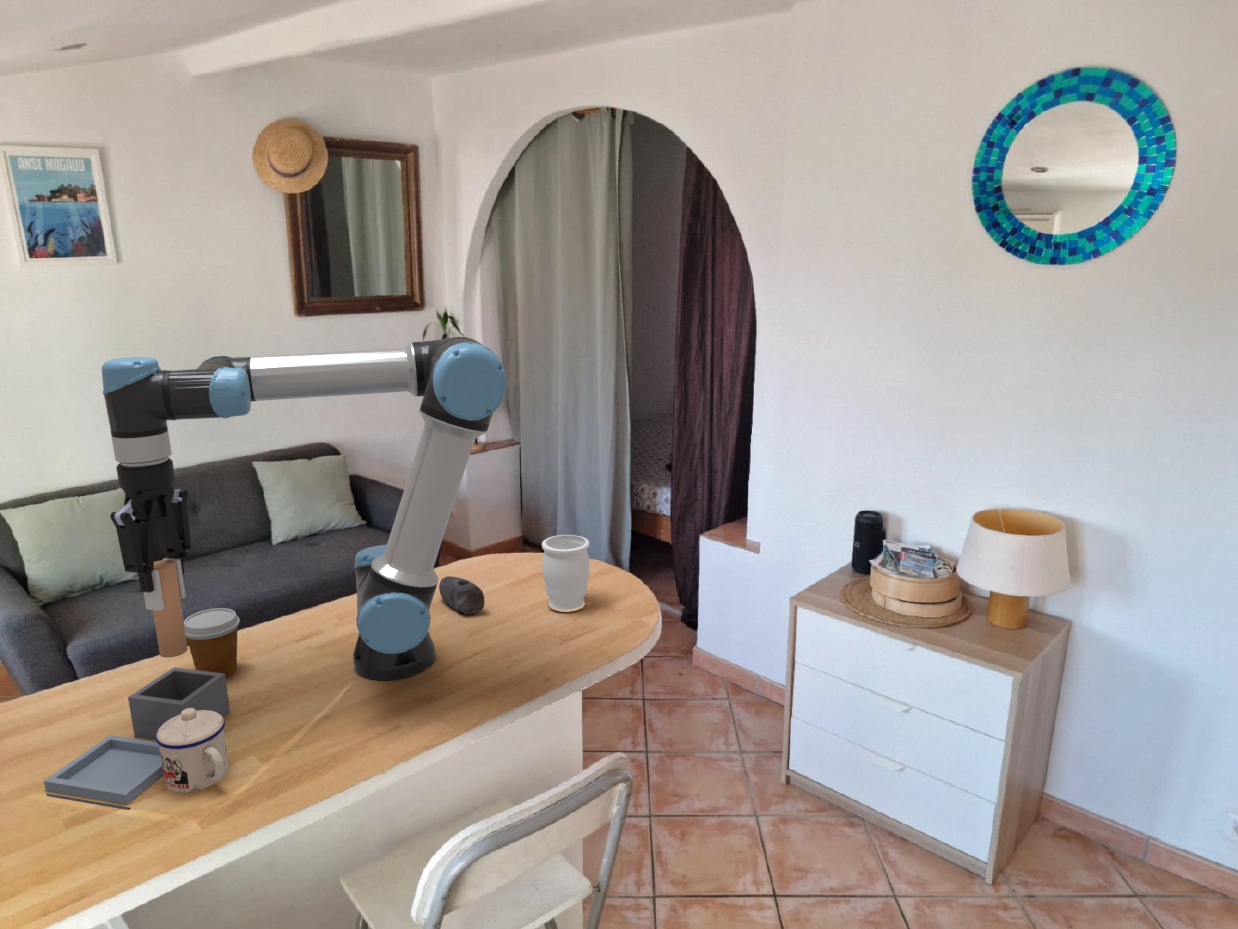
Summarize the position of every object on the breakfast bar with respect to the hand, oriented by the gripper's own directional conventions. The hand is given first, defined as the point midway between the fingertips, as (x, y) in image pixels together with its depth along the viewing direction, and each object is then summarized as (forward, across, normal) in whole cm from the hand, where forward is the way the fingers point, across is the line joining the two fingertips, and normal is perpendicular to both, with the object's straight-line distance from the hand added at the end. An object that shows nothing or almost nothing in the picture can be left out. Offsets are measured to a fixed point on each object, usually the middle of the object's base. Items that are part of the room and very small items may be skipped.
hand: (166, 602), depth 132 cm
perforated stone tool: (+23, -55, +25) cm, 65 cm away
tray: (+23, +14, 0) cm, 26 cm away
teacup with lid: (+23, +12, +13) cm, 29 cm away
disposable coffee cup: (+23, -16, -6) cm, 29 cm away
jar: (+23, -61, +48) cm, 81 cm away
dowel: (+9, 0, 0) cm, 9 cm away
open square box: (+23, 0, 0) cm, 23 cm away
